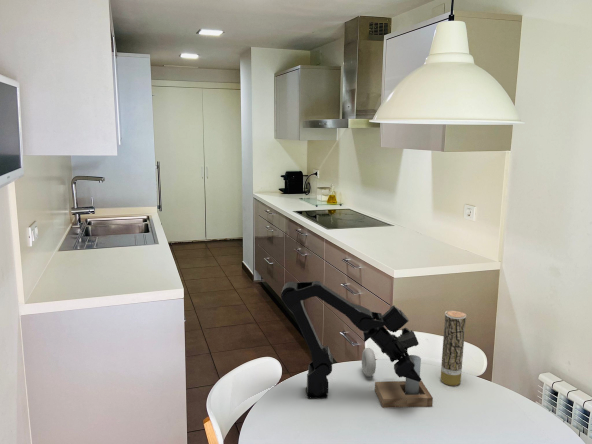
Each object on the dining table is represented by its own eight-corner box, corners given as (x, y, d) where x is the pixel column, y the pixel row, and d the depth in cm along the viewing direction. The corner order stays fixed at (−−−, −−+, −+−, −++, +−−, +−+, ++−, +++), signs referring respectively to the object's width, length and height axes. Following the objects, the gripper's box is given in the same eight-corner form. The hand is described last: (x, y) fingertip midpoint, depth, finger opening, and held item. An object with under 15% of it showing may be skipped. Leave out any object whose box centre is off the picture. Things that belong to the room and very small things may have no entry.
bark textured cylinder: (461, 387, 169) (467, 318, 165) (441, 385, 170) (446, 316, 166) (459, 378, 176) (464, 311, 171) (439, 376, 177) (444, 309, 173)
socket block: (382, 407, 156) (383, 399, 155) (374, 389, 167) (375, 381, 166) (432, 406, 157) (432, 397, 156) (421, 388, 168) (421, 380, 167)
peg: (409, 402, 159) (412, 362, 157) (401, 395, 163) (404, 356, 161) (421, 399, 161) (423, 359, 158) (412, 393, 165) (415, 354, 162)
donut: (376, 381, 172) (377, 354, 170) (366, 382, 172) (367, 355, 170) (369, 368, 182) (370, 342, 180) (360, 368, 182) (361, 343, 180)
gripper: (409, 336, 148) (443, 371, 150) (399, 314, 167) (430, 345, 168) (381, 359, 150) (415, 394, 152) (374, 335, 169) (405, 366, 170)
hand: (417, 373), depth 160 cm, fingers open, 9 cm apart
